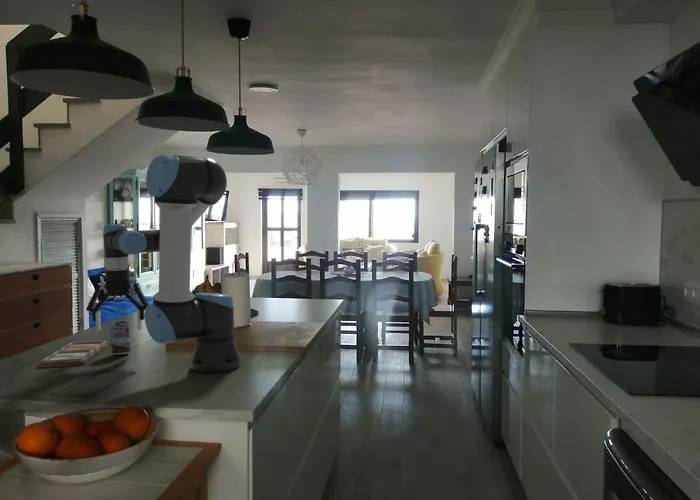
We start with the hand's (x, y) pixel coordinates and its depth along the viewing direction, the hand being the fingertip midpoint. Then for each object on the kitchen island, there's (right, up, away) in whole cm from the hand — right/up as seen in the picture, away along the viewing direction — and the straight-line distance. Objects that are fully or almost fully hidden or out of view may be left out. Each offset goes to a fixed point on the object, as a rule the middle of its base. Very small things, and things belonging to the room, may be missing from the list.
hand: (119, 330), depth 184 cm
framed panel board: (-15, -9, -1) cm, 17 cm away
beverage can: (0, -9, 0) cm, 9 cm away
